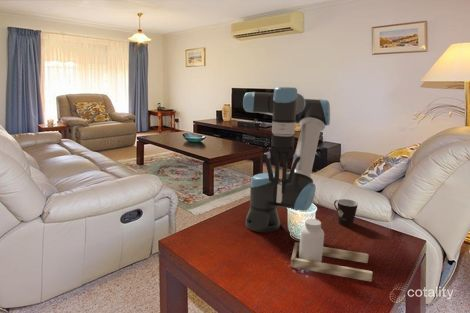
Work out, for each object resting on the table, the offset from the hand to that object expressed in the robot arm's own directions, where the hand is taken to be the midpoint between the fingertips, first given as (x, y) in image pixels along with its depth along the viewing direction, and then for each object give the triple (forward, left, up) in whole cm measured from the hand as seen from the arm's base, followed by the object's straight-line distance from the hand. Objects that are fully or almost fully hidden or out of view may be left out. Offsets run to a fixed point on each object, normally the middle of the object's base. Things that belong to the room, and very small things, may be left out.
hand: (279, 201), depth 109 cm
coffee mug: (+25, +39, -21) cm, 51 cm away
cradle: (+19, 0, -21) cm, 28 cm away
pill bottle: (+12, 0, -21) cm, 24 cm away
